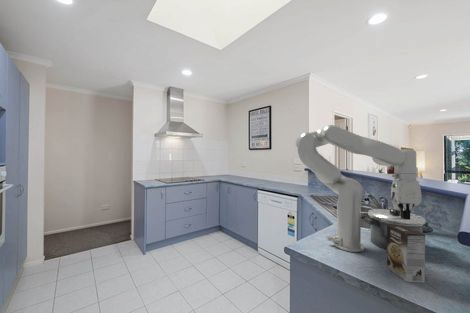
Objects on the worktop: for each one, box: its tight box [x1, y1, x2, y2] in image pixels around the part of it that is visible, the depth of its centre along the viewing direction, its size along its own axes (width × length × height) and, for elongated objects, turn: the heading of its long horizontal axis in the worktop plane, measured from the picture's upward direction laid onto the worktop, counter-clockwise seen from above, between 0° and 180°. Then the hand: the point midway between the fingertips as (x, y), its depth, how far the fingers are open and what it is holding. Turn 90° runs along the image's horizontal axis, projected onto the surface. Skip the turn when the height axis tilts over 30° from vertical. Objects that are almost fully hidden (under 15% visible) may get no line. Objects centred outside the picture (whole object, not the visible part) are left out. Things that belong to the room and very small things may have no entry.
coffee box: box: [386, 225, 426, 284], centre depth 70 cm, size 9×6×16 cm
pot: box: [363, 216, 429, 251], centre depth 94 cm, size 26×20×13 cm
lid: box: [367, 208, 427, 225], centre depth 94 cm, size 22×21×4 cm
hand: (405, 218), depth 88 cm, fingers closed
